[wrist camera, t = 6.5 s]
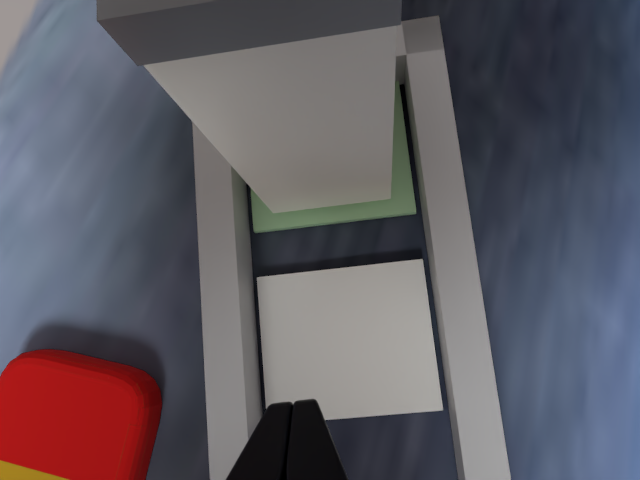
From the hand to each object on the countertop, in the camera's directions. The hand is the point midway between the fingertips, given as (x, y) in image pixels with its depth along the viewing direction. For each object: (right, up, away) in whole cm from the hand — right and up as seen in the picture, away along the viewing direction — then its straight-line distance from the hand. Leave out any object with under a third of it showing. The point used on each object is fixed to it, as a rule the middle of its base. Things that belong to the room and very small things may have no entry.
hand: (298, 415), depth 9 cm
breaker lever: (+1, +6, +9) cm, 11 cm away
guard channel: (+1, +2, +9) cm, 9 cm away
